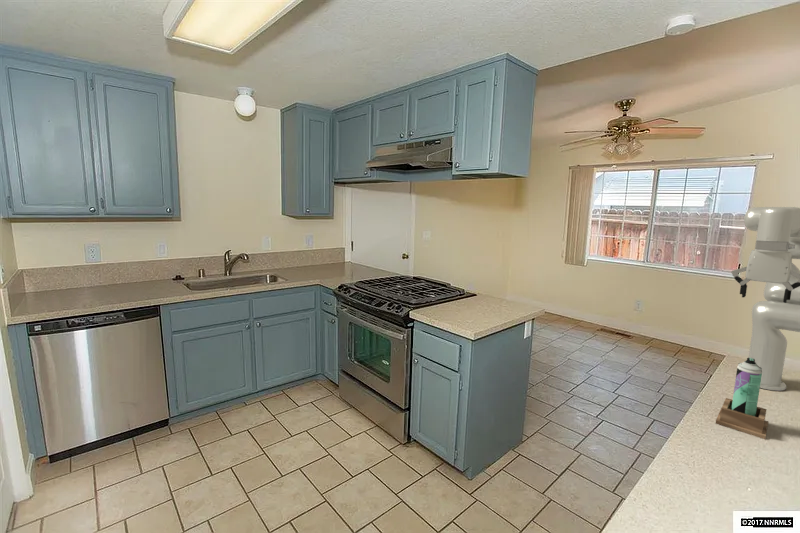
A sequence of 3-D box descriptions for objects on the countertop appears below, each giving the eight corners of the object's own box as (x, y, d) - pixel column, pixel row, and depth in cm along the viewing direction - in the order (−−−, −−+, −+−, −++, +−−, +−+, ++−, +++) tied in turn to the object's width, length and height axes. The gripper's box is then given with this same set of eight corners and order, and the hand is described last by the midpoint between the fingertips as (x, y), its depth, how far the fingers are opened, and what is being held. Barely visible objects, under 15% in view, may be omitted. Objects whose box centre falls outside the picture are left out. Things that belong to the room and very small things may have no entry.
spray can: (744, 416, 116) (753, 355, 113) (759, 426, 111) (769, 362, 108) (725, 415, 117) (733, 354, 114) (739, 425, 112) (748, 362, 109)
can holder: (721, 410, 122) (723, 396, 121) (768, 424, 114) (770, 409, 113) (715, 423, 114) (717, 408, 114) (765, 439, 106) (767, 423, 106)
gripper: (811, 248, 114) (802, 302, 117) (736, 244, 127) (730, 293, 129) (811, 249, 109) (802, 306, 112) (733, 245, 122) (726, 296, 124)
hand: (763, 299), depth 121 cm, fingers open, 9 cm apart
